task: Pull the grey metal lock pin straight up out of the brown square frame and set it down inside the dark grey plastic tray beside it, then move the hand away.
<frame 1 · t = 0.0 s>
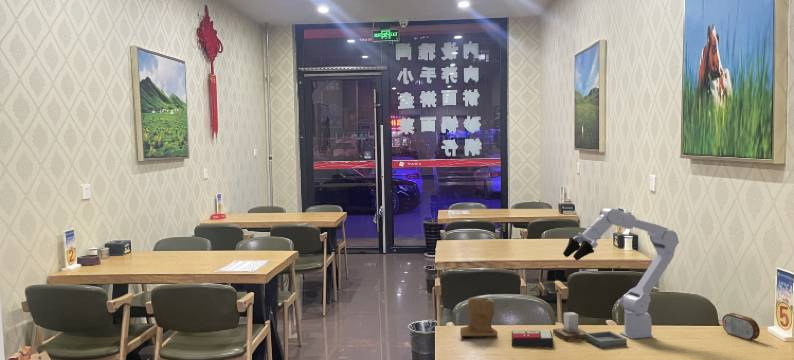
hand: (569, 256, 237), 32 cm above the table, tool tilted 50°, fingers open, 7 cm apart
oval speaker: (739, 337, 241), on the table
lock pin: (570, 325, 245), in the brown square frame
brown wooden stand: (477, 335, 249), on the table
brown square frame: (570, 336, 245), on the table
tray: (605, 342, 236), on the table
red black box: (532, 344, 238), on the table
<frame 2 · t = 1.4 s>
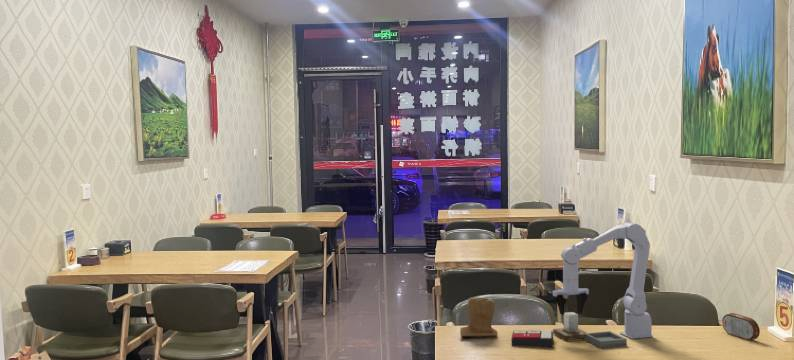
hand: (570, 313, 245), 9 cm above the table, tool pointing down, fingers open, 7 cm apart
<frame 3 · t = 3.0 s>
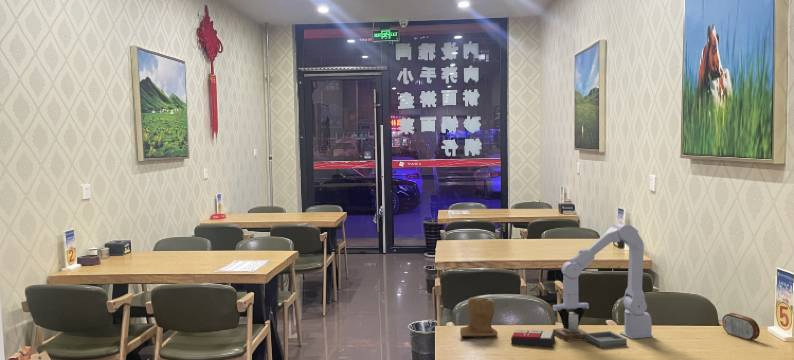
hand: (570, 327, 245), 3 cm above the table, tool pointing down, fingers closed on lock pin, 4 cm apart
lock pin: (570, 325, 245), in the brown square frame, touching gripper
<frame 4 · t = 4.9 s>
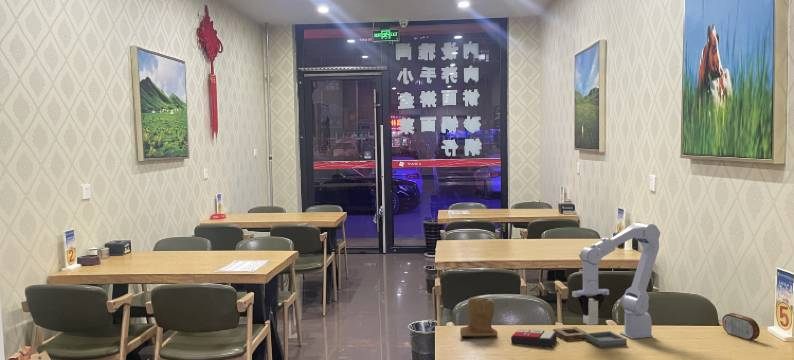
hand: (590, 314, 240), 10 cm above the table, tool pointing down, fingers closed on lock pin, 4 cm apart
lock pin: (590, 311, 240), point 11 cm above the table, touching gripper
when the fingers open (6 cm above the table, at t = 6.8 s): lock pin drops 1 cm, resting on tray.
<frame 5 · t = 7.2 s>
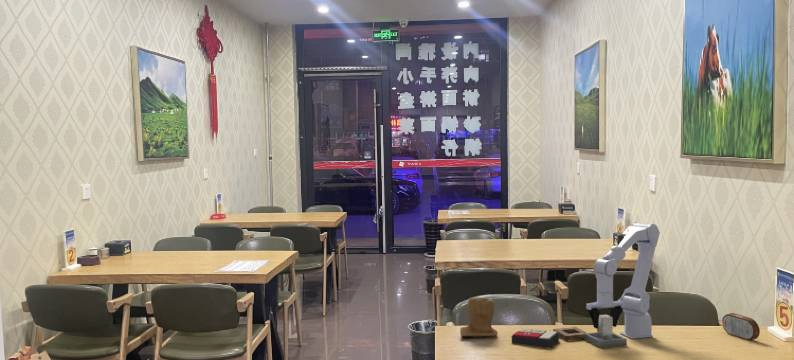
hand: (605, 327, 236), 6 cm above the table, tool pointing down, fingers open, 7 cm apart
lock pin: (604, 328, 236), in the tray, point 6 cm above the table
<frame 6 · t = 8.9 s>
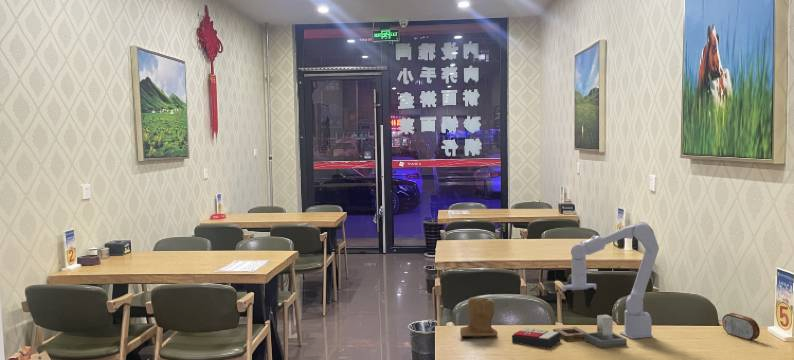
hand: (579, 307, 252), 9 cm above the table, tool pointing down, fingers open, 7 cm apart
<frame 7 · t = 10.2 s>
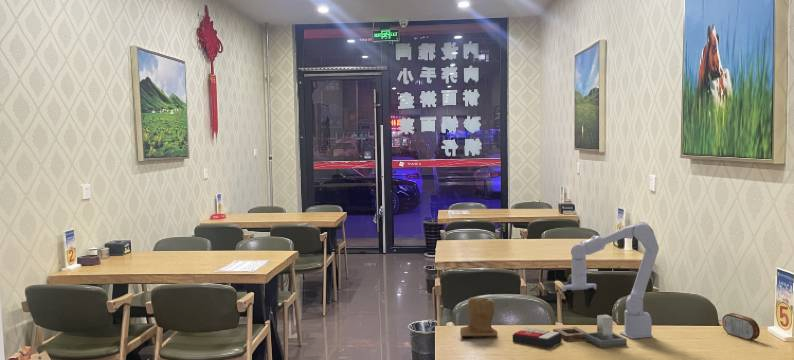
hand: (579, 307, 252), 9 cm above the table, tool pointing down, fingers open, 7 cm apart
at the end: lock pin 0.1 cm off-centre on the tray, point 5.5 cm above the tray's base; the gripper is holding nothing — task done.
